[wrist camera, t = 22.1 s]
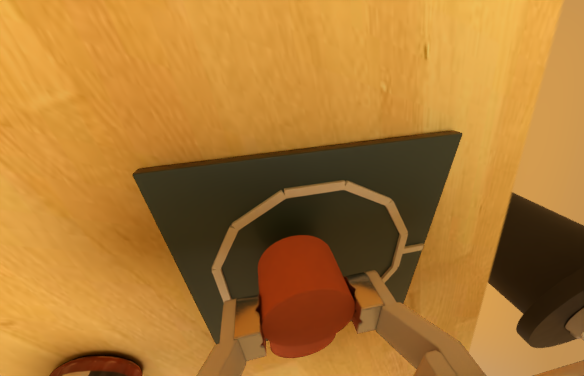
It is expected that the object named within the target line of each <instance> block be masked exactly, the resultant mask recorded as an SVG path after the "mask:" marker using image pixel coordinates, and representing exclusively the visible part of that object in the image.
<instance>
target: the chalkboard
mask: <svg viewBox="0 0 584 376" xmlns="http://www.w3.org/2000/svg"><path fill="white" fill-rule="evenodd" d="M461 137H462V133H460V132H457V131H446V132H438V133H430V134H422V135H413V136H405V137H397V138H389V139H381V140H373V141H364V142H356V143H348V144H340V145H332V146H323V147H315V148H307V149H299V150H291V151H282V152H274V153H266V154H258V155H250V156H241V157H233V158H225V159H217V160H209V161H200V162H192V163H184V164H176V165H168V166H159V167H151V168H143V169H138V170H137V171H136V172H135V173H133V177H134V179H135V181H136V183H137V185H138V187H139V189H140V191H141V193H142V195H143V197H144V199H145V201H146V203H147V205H148V207H149V209H150V211H151V213H152V215H153V218H154V220H155V222H156V224H157V226H158V228H159V230H160V232H161V234H162V236H163V238H164V240H165V242H166V244H167V246H168V248H169V250H170V252H171V254H172V256H173V258H174V260H175V262H176V264H177V266H178V268H179V270H180V272H181V274H182V276H183V278H184V280H185V282H186V284H187V286H188V288H189V290H190V292H191V294H192V296H193V299H194V301H195V303H196V305H197V307H198V309H199V311H200V313H201V315H202V317H203V319H204V321H205V323H206V325H207V327H208V329H209V331H210V333H211V335H212V337H213V339H214V341H215V343H216V344H219V342H220V332H221V323H222V313H223V305H224V302H225V301H227V300H231V299H236V298H242V297H247V296H252V295H257V294H259V284H258V263H259V260H260V258H261V256H262V254H263V253H264V252H265V250H266V249H267V248H269V247H270V246H271V245H272V244H274V243H275V242H277V241H279V240H281V239H284V238H287V237H290V236H296V235H309V236H314V237H317V238H319V239H321V240H323V241H324V242H325V243H326V244H327V245H328V246H329V247H330V249H331V251H332V254H333V256H334V258H335V260H336V262H337V264H338V267H339V269H340V271H341V273H342V275H343V277H344V276H348V275H353V274H357V273H362V272H367V271H372V270H375V271H376V272H377V273H378V274H379V276H380V277H381V279H382V280H383V282H384V283H385V285H386V287H387V288H388V290H389V291H390V293H391V294H392V296H393V297H394V299H395V301H396V302H397V303H398V302H401V303H402V304H403V303H404V300H405V297H406V294H407V292H408V289H409V286H410V283H411V280H412V277H413V274H414V271H415V269H416V266H417V263H418V260H419V257H420V254H421V251H422V250H423V247H424V243H425V240H426V237H427V234H428V231H429V228H430V226H431V223H432V220H433V217H434V214H435V211H436V208H437V205H438V203H439V200H440V197H441V194H442V191H443V188H444V185H445V182H446V180H447V177H448V174H449V171H450V168H451V165H452V162H453V160H454V157H455V154H456V151H457V148H458V145H459V142H460V139H461ZM350 321H352V319H351V320H350ZM265 339H266V338H265ZM266 341H268V340H267V339H266Z"/></svg>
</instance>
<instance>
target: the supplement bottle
mask: <svg viewBox="0 0 584 376" xmlns="http://www.w3.org/2000/svg"><path fill="white" fill-rule="evenodd" d="M49 376H142V372H141V369H140V367H139V366H138V365H137V364H135V363H134V362H133V361H130V360H126V359H123V358H120V357H113V356H88V357H83V358H78V359H75V360H72V361H70V362H67V363H65V364H63V365H61V366H60V367H58V368H56V369H55V370H54V371H53V372H52V373H51V374H50V375H49Z"/></svg>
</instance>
